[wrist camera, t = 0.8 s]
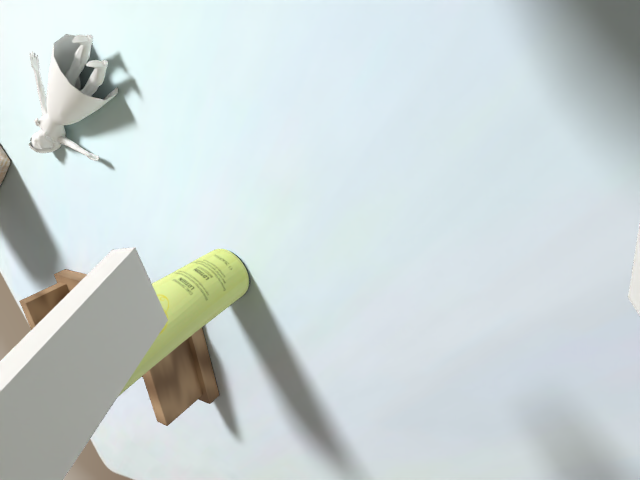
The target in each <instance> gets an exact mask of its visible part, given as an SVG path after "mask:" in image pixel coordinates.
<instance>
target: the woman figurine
mask: <svg viewBox="0 0 640 480" xmlns="http://www.w3.org/2000/svg"><path fill="white" fill-rule="evenodd" d="M92 42H93V36H92V35H87V36H84V35H77V36H74V35H68V34H66V35H64V36H63V37H62V38H60V39H59V40H58V41H56V42H55V43H54V45H53V51H52V57H51V64H50V70H49V78H48V88H47V97H46V93H45V89H44V86H43V83H42V79H41V75H40V71H39V61H38V55H37V57H36V54H35V53H33V52H32V55H31V53H30V59H31V65H32V67H33V69H34V73H35V78H36V83H37V90H38V95H39V99H40V103H41V108H42V117H41V118H40V120H39V122H38V118H37V119H36V120H35V123H36V125H37V126H39V127H40V128H41V130H40V131H38V132H36V133H35V134H34V135H33V136H32V137H31V140H30V141H31V142H30V143H29V146H30V148H31V149H33V150H34V151H36V152H39V153H49V152H54V151H56V150H57V149H59V148H60V147H61V145H63V144H64V145H66V146H68V147H70V148H72V149H74V150H76V151H78V152H80V153H82V154H84V155H86V156H87V157H88V158H90V159H91V160H94V161H96V160H97V161H98V159H99V158H98V157H99V156H96V155H94V154H92V153H89V152H88V151H86V150H84V149H83V148H81V146H79V145H77V144H76V143H75V142H73V141H71V140H69V139H68V138H66V133H65V128H64V125H69V124H73V123H76V122H79V121H80V120H82V119H84V118H85V117H87V116H89V115H90V114H92V113H94V112H95V111H97V110H99V109H100V108H101V107H102V106H103V105H105V104H106V103H107V102H108V101H109V100H111V99H112V98H113V97H114V96H115V95H117V92H118V87H117V88H116V89H114V90H113V91H112V92H111V93H110V94H108V95H107V96H106V97H105V98H104V99H99V98H95V97H91V95H93V94H94V93H95V92H96V91H97V89H98V87H99V86H100V85H102V83H103V81H104V78H105V73H106V68H107V66H108V61H106V60H103V61H98V60H92V61H89V62H88V63H87V64H86V62H87V61H88V59H89V57H90V51H91V46H92V44H93V43H92ZM85 64H86V65H87V67H94V68H95V69H94V71H93V72H92V74H91V76H90V78H89V79H88V82H87V83H86V85H85V87H84V88H83V89H82V90H81V85H80V76H79V75H80V73H81V72H82V70H83V69H84V66H85Z"/></svg>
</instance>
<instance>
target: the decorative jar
mask: <svg viewBox="0 0 640 480" xmlns="http://www.w3.org/2000/svg"><path fill="white" fill-rule="evenodd" d="M10 163H11V162H10V159H9V158H8V156H7V155H6V153H5V152H4V150H3V149H2V147H1V146H0V185H1V183H2V181H3V179H4V177H5V175H6V172H7V170H8V168H9V166H10Z"/></svg>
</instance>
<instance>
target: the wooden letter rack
mask: <svg viewBox="0 0 640 480" xmlns="http://www.w3.org/2000/svg"><path fill="white" fill-rule="evenodd" d="M86 275H87V274H83V273H79V272H75V271H70V270H66V269H64V270H62V271H60V272H58V273H56V274H54V276H55V278H56V281H57V284H55V285H53V286H51V287H48V288H46V289H44V290H42V291H40V292H38V293H36V294H33V295H31V296H29V297H27V298H25V299H23V300H21V301H20V304H21V306H22V308H23V311H24V313H25V316H26V318H27V320H28V323H29V325H30V328H31V330H32V329H33V328H34V327H35V326H36V325H37V324H38V323H39V322H40V321H41V320H42V319H43V318H44V317H45V316H46V315H47V314H48V313H49V312H50V311H51V310H52V309H53V308H54V307H55V306H56V305H57V304H58V303H59V302H60V301H61V300H62V299H63V298H64V297H65V296H66V295H67V294H68V293H69V292H70V291H71V290H72V289H73V288H74V287H75V286H76V285H77V284H78V283H79V282H80V281H81V280H82V279H83V278H84V277H85V276H86ZM142 377H143V379H144V382H145V385H146V388H147V391H148V394H149V397H150V400H151V403H152V406H153V409H154V412H155V416H156V419H157V421H158V422H160V423H162V424H164V425H166V426H168V425H169V424H170V423H171V422H172V421H174V420H175V419H176V418H177V417H178V416H179V415H180V414H182V413H183V412H184V411H185V410H186V409H187V408H188V407H190V406H191V405H192V404H193V403H194V402H195V401H196V400H198V399H199V400H201V401H204V402H206V403H209V404H210V403H212V402H213V401H214V400H215V399H216V398H217V397H218V396H219V391H218V388H217V384H216V380H215V376H214V372H213V368H212V364H211V360H210V356H209V352H208V348H207V345H206V341H205V337H204V333H203V329H202V328H200V329H199V330H198V331H197V332H195V333H194V334H193V335H192V336H190V337H189V338H188V339H187V340H185V341H184V342H183V343H182V344H180V345H179V346H178V347H177V348H175V349H174V350H173V351H172V352H171V353H169V354H168V355H167V356H166V357H164V358H163V359H162V360H161V361H160V362H158V363H157V364H156V365H155V366H154V367H152V368H151V369H150V370H149V371H148V372H146V373H145V374H144V375H143V376H142Z"/></svg>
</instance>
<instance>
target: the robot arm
mask: <svg viewBox="0 0 640 480" xmlns="http://www.w3.org/2000/svg"><path fill="white" fill-rule="evenodd" d="M628 298H629V300H630V301H631V303H632V305H633V306H634V308H635V309H636V311H637V312H638V314H639V315H640V224H639V231H638V237H637V243H636V249H635V256H634V262H633V268H632V275H631V281H630V287H629V294H628ZM167 321H168V319H167V317H166V314H165V312H164V310H163V308H162V306H161V303H160V301H159V299H158V297H157V295H156V292H155V290H154V288H153V286H152V284H151V281H150V279H149V277H148V275H147V272H146V270H145V268H144V266H143V264H142V261H141V259H140V257H139V255H138V253H137V250H136V248H124V249H113V250H112V251H111V252H110V253H109V254H108V255H107V256H106V257H105V258H104V259H103V260H101V261H100V262H99V263H98V264H97V265H96V266H95V267H94V268H93V269H92V270H91V271H90V272H89V273H88V274H87V275H86V276H85V277H84V278H83V279H82V280H81V281H80V282H79V283H78V284H77V285H76V286H75V287H74V288H73V289H72V290H71V291H70V292H69V293H68V294H67V295H66V296H65V297H64V298H63V299H62V300H61V301H60V302H59V303H58V304H57V305H56V306H55V307H54V308H53V309H52V310H51V311H50V312H49V313H48V314H47V315H46V316H45V317H44V318H43V319H42V320H41V321H40V322H39V323H38V324H37V325H36V326H35V327H34V328H33V329H32V330H31V331H30V332H29V333H28V334H27V335H26V336H25V337H24V338H23V339H22V340H21V341H20V342H19V343H18V344H17V345H16V346H15V347H14V348H13V349H12V350H11V351H10V352H9V353H8V354H7V355H6V356H5V357H4V358H3V359H2V360H1V361H0V480H63V479H64V477H65V476H66V474H67V473H68V471H69V470H70V468H71V467H72V465H73V464H74V462H75V461H76V459H77V458H78V456H79V455H80V453H81V452H82V450H83V449H84V447H85V446H86V444H87V443H88V441H89V440H90V438H91V437H92V435H93V434H94V432H95V430H96V429H97V427H98V426H99V424H100V423H101V421H102V420H103V418H104V417H105V415H106V414H107V412H108V411H109V409H110V408H111V406H112V405H113V403H114V402H115V400H116V399H117V397H118V396H119V394H120V393H121V391H122V389H123V388H124V386H125V385H126V383H127V382H128V380H129V379H130V377H131V376H132V374H133V373H134V371H135V370H136V368H137V367H138V365H139V364H140V362H141V361H142V359H143V358H144V356H145V355H146V353H147V352H148V350H149V348H150V347H151V345H152V344H153V342H154V341H155V339H156V338H157V336H158V335H159V333H160V332H161V330H162V329H163V327H164V326H165V324H166V323H167Z"/></svg>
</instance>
